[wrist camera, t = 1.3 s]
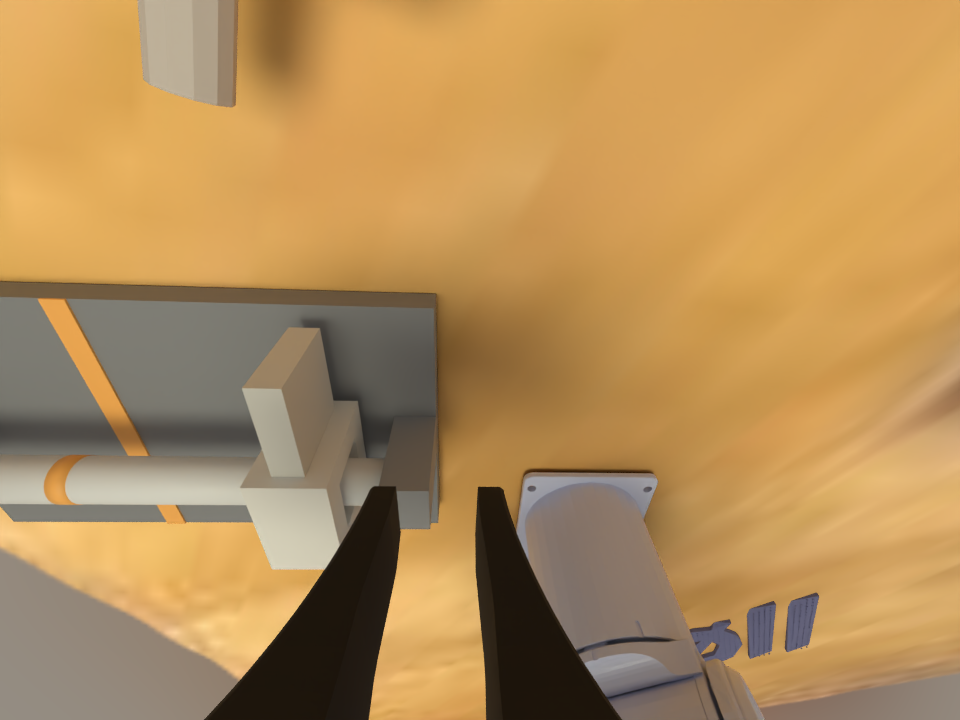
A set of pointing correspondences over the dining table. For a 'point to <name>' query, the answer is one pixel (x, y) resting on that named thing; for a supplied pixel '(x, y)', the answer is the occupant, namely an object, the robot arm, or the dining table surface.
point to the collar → (300, 454)
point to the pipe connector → (191, 48)
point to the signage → (759, 630)
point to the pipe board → (198, 397)
